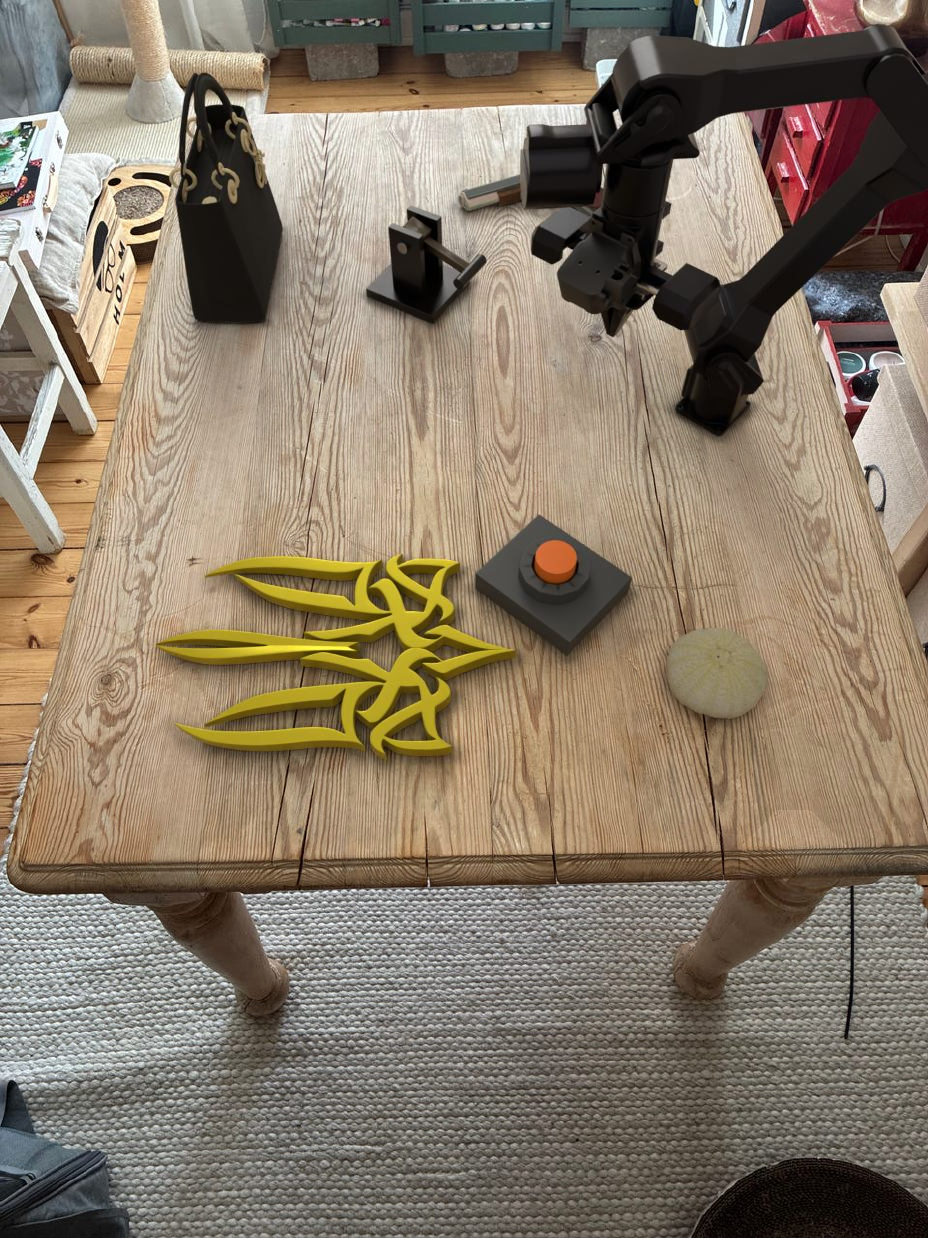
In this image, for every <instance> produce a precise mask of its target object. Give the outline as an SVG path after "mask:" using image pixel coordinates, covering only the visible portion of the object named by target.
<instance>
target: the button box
mask: <svg viewBox="0 0 928 1238" xmlns="http://www.w3.org/2000/svg"><path fill="white" fill-rule="evenodd" d="M553 540H558V541H563V542H565V543H567V544H569V545H570V546H571V547H572V548H573V549H574V550H575V552H576V555H577V562H576V568H575V572H574V575H573V576H572V577H571V578H570V579H569V580H568V581H566V582H563V583H560V584H552V583H548V582H546V581H544V580H542V579H541V578H540V577H539V576H538V575H537V573H536V571H535V556H536V551H537V549H538V548H539V547H540V546H541V545H542V544H544V543H545V542H548V541H553ZM474 577H475V579H474V580H475V581H474V583H475V585H474V586H475V588H474V589H476V590H477V591H478V592H480V593H481V594H482V595H484V596H485V597H487V598H488V599H489V600H491V601H492V602H493V603H495V604H496V605H497V606H498V607H500V608H501V609H503V610H504V611H505V612H507V613H508V614H510V615H511V616H512V617H514V618H515V619H516V620H518V621H519V622H520V623H522V624H523V625H524V626H526V627H527V628H528V629H530V630H531V631H532V632H534V633H535V634H536V635H538V636H539V637H541V638H542V639H543V640H545V641H546V642H547V643H549V644H550V645H552V646H553V647H554V648H555V649H557V650H558V651H559V652H561V653H562V654H564V655H565V656H567V657H568V656H569V655H570V654H571V653H572V652H573V651H574V650H575V649H576V648H577V647H578V645H580V644H581V643H582V642H583V640H584V639H585V638H586V637H588V635H589V634H590V633H591V632H592V631H593V630H594V629H595V627H597V626H598V625H599V624H600V623H601V622H602V621H603V620H604V619H605V618H606V617H607V616H608V614H609V613H611V611H612V610H614V608H615V607H616V606H617V605H618V604H619V603H620V602H621V601H622V600H623V599H624V597H626V596H627V595H628V593H629V592H630V588H631V584H632V580H633V577H632V576H631V575H629V574H628V573H627V572H625V571H624V570H622V569H621V568H619V567H617V566H616V565H615V564H613V563H612V562H610V561H609V560H607V559H606V558H604V557H603V556H601V555H600V554H598V553H597V552H596V551H594V550H593V549H592V548H590V547H588V546H587V545H585V544H583V543H582V542H581V541H579V540H578V539H576V538H575V537H573V536H572V535H570V534H569V533H567V532H566V531H565V530H563V529H562V528H560V527H559V526H557V525H556V524H554V523H553V522H552V521H550V520H549V519H547V518H545V517H544V516H542V515H541V514H537V515H536V517H534V518H533V519H532V520H531V521H530V522H529V523H528V524H527V525H525V527H524V528H523V529H522V530H520V531H518V533H517V534H516V535H515V536H514V537H513V538H512V539H511V540H509V541H508V542H507V543H506V544H505V545H504V546H503V547H502V548H500V550H498V552H497V553H495V554H494V555H493V557H491V558H490V559H489V560H488V561H487V562H486V563H485V564H484V565H482V567H481V568H479V569H478V570H477V571H476V572H475V575H474Z"/></svg>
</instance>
